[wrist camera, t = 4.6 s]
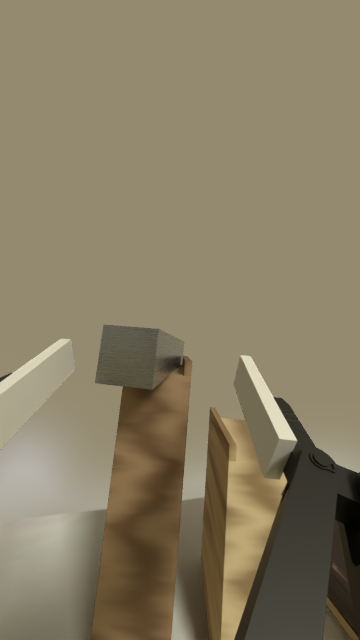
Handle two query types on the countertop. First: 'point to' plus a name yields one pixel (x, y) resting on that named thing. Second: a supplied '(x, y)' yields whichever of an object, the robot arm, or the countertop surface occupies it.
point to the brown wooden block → (144, 513)
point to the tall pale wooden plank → (233, 522)
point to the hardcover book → (340, 588)
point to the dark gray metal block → (137, 356)
